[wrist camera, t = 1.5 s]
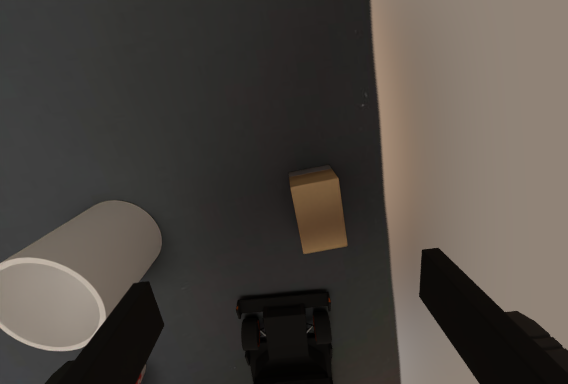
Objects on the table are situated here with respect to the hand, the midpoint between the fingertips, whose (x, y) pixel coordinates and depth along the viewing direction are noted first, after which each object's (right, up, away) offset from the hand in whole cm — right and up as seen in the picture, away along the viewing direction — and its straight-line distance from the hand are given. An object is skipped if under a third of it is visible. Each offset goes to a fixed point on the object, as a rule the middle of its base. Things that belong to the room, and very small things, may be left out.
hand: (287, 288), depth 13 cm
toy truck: (+1, -16, +22) cm, 27 cm away
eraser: (+3, +4, +14) cm, 15 cm away
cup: (-19, -1, +16) cm, 24 cm away
